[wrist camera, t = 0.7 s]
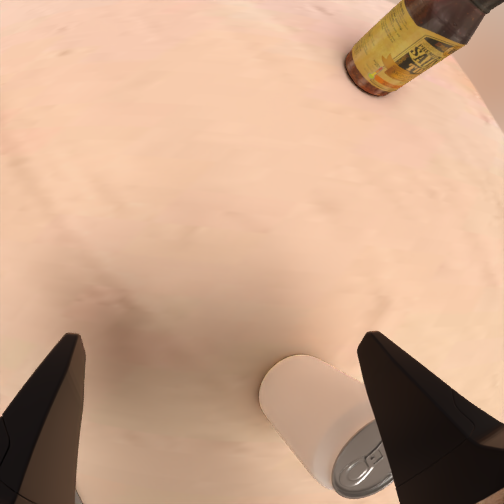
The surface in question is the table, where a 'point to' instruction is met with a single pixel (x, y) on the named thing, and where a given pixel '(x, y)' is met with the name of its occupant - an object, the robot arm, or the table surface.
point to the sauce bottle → (413, 41)
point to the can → (327, 425)
